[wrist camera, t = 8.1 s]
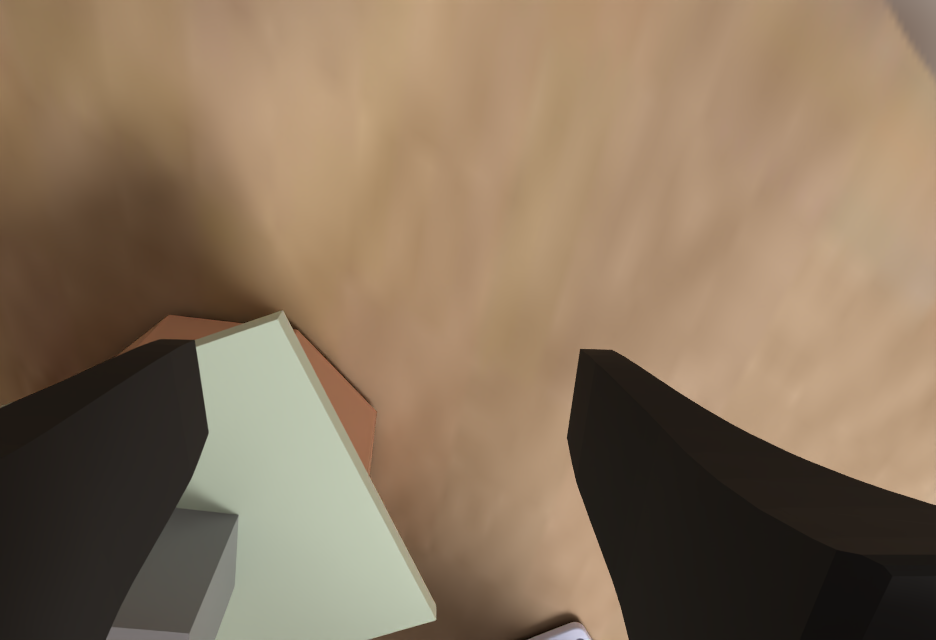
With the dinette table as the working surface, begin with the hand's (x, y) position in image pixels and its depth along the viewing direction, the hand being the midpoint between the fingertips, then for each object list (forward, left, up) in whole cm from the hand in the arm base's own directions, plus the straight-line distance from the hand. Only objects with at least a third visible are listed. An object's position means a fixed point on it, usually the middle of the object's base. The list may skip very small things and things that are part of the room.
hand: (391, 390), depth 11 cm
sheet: (-4, +10, -5) cm, 12 cm away
